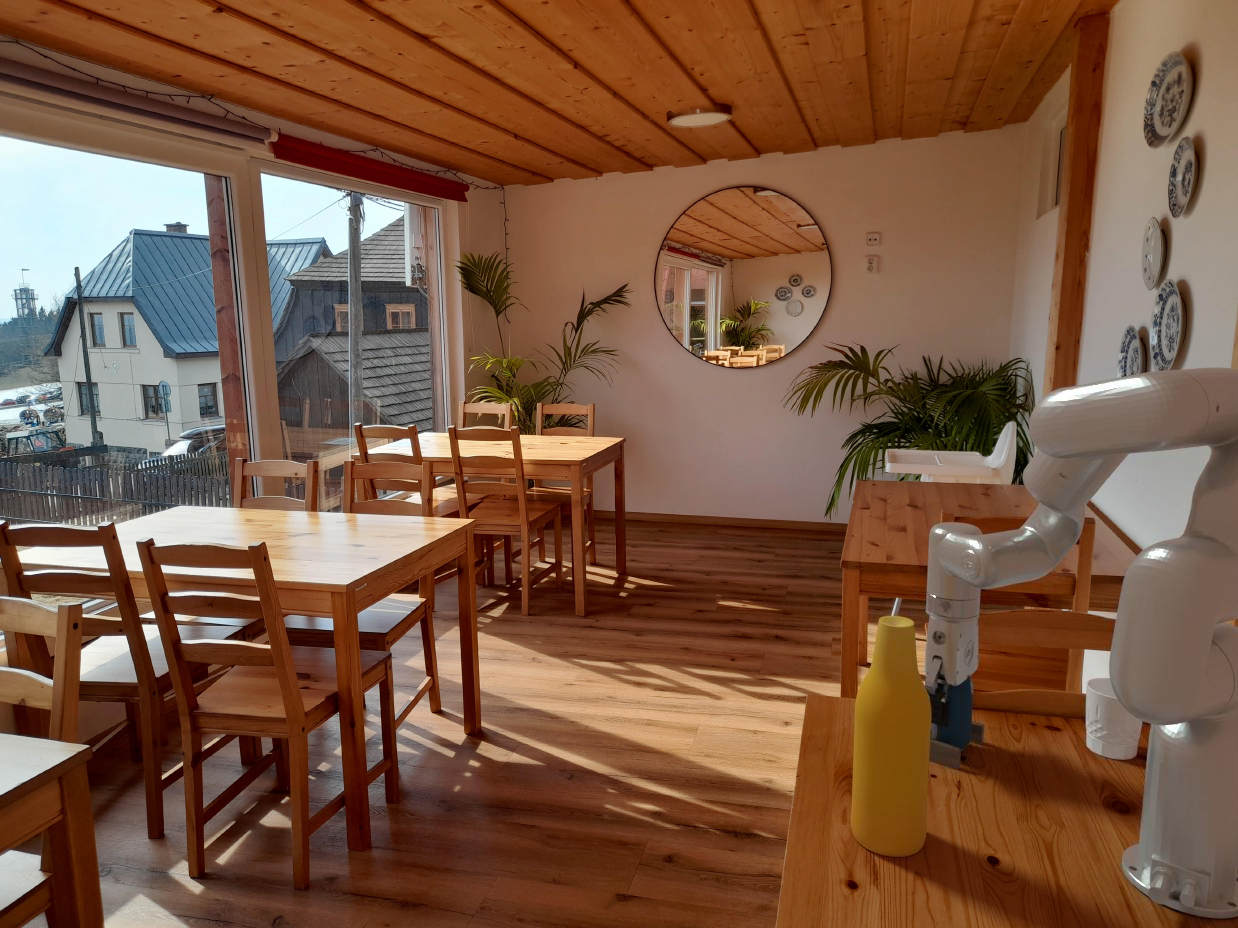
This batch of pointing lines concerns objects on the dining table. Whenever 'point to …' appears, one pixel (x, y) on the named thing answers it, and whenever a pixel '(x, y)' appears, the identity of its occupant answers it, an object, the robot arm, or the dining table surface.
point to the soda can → (956, 715)
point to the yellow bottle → (891, 746)
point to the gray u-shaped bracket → (954, 748)
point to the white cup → (1109, 722)
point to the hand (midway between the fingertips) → (947, 714)
